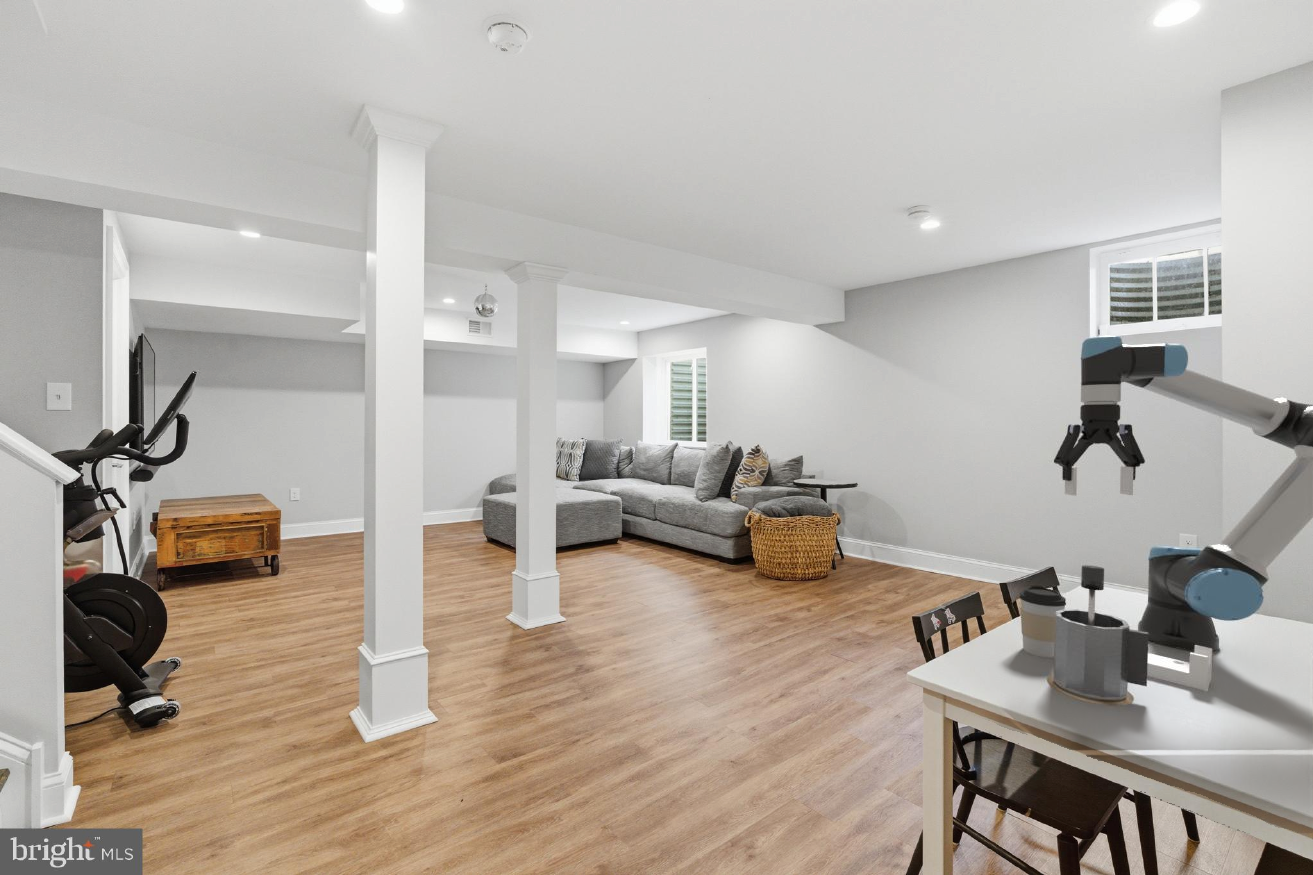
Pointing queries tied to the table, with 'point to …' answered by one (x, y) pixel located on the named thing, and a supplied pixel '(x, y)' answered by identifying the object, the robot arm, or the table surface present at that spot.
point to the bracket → (1183, 668)
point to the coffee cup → (1039, 619)
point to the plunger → (1092, 586)
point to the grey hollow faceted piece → (1098, 656)
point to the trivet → (1125, 702)
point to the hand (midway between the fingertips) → (1098, 494)
